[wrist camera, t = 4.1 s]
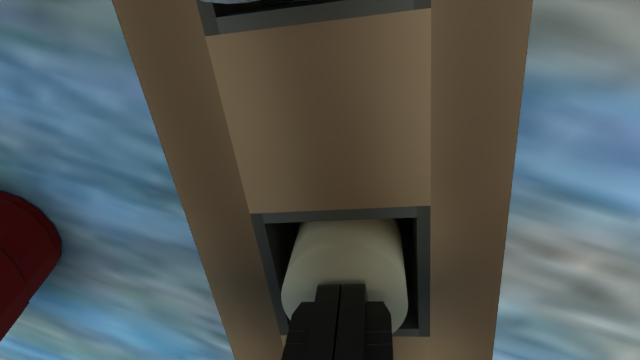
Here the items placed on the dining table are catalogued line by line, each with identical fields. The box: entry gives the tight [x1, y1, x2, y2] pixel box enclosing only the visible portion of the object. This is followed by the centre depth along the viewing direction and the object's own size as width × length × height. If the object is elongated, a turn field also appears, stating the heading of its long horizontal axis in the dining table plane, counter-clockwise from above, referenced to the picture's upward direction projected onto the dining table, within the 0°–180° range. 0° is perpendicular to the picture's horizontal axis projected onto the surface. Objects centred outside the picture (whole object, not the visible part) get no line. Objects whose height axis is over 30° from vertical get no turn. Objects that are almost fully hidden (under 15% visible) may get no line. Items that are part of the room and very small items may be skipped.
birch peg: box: [281, 218, 408, 334], centre depth 15 cm, size 4×4×6 cm
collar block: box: [112, 0, 533, 360], centre depth 13 cm, size 10×22×6 cm, turn 8°
